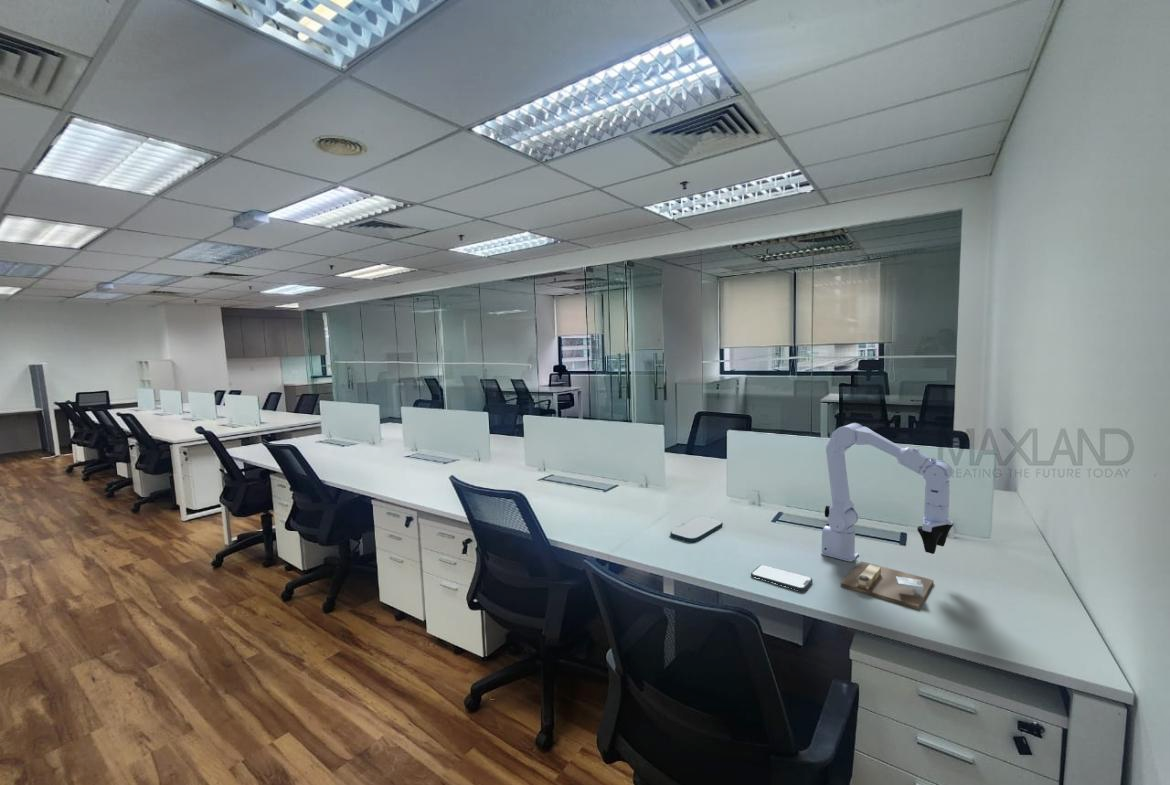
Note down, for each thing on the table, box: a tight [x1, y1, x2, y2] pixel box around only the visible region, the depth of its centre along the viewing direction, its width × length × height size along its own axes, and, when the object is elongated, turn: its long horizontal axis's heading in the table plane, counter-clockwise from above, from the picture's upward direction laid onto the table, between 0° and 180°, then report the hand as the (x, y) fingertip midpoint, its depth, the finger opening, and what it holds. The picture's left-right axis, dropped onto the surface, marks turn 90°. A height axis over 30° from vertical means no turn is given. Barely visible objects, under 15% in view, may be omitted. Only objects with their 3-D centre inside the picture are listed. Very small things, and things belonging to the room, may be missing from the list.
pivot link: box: [856, 563, 881, 589], centre depth 142 cm, size 13×4×3 cm, turn 135°
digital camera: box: [824, 505, 830, 518], centre depth 191 cm, size 10×5×7 cm, turn 141°
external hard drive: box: [670, 515, 724, 543], centre depth 187 cm, size 24×12×2 cm, turn 136°
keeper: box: [896, 576, 924, 598], centre depth 134 cm, size 6×4×4 cm
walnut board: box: [840, 560, 934, 611], centre depth 141 cm, size 19×19×1 cm
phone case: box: [750, 564, 813, 592], centre depth 147 cm, size 9×2×16 cm
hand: (934, 548), depth 142 cm, fingers open, 7 cm apart
